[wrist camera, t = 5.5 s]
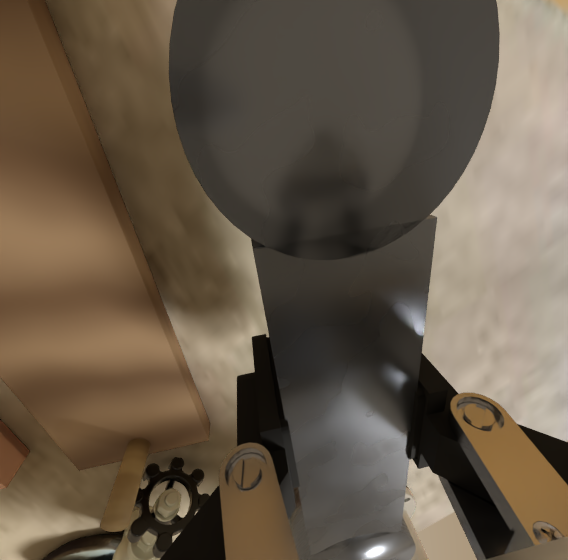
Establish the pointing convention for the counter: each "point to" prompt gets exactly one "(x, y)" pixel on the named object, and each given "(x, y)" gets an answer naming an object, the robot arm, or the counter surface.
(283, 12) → the grey long knobbed bar
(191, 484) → the valve
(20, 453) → the slot holder
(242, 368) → the counter surface
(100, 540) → the salad plate
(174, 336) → the board
